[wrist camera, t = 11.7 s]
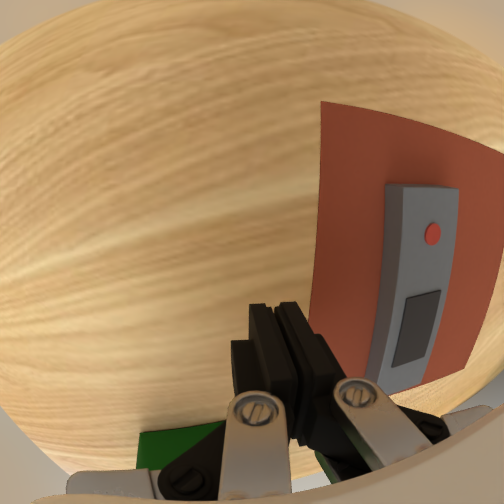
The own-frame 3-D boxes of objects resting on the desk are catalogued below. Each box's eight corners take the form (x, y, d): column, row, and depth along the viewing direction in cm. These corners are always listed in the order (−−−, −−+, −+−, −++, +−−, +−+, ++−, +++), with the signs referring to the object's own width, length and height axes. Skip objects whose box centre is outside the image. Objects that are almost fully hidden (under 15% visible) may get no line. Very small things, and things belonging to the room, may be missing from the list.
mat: (320, 101, 12) (321, 101, 12) (511, 158, 14) (512, 158, 14) (293, 414, 18) (294, 415, 18) (463, 367, 20) (464, 368, 20)
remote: (384, 183, 14) (405, 187, 12) (439, 184, 14) (461, 188, 12) (362, 385, 18) (372, 402, 16) (409, 369, 18) (421, 384, 16)
